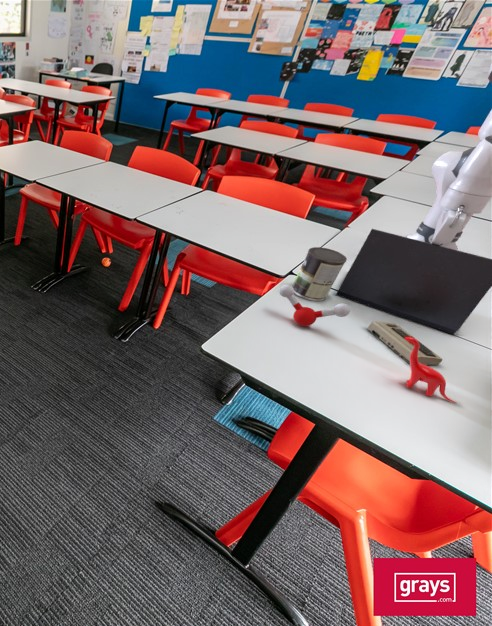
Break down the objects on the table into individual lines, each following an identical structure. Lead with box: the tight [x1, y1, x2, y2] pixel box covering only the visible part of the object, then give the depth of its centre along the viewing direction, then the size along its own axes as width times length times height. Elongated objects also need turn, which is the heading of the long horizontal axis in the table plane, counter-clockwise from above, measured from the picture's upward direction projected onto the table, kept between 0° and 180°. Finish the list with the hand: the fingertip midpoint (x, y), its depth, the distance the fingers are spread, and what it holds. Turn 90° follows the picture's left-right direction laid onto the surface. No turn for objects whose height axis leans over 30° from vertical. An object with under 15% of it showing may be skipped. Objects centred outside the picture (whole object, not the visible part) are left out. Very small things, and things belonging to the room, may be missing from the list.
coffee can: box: [291, 246, 348, 302], centre depth 134 cm, size 10×10×14 cm
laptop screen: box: [337, 228, 492, 332], centre depth 123 cm, size 21×30×1 cm
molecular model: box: [278, 284, 351, 327], centre depth 120 cm, size 18×6×10 cm, turn 46°
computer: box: [367, 320, 444, 366], centre depth 115 cm, size 16×8×3 cm, turn 4°
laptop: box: [335, 290, 457, 336], centre depth 135 cm, size 21×30×2 cm
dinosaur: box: [405, 336, 457, 404], centre depth 98 cm, size 4×15×12 cm, turn 50°
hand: (432, 249), depth 119 cm, fingers closed
